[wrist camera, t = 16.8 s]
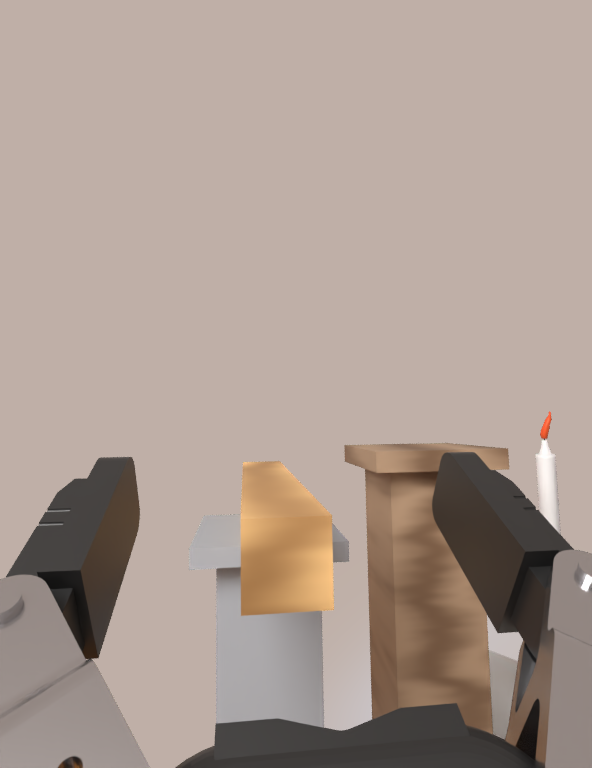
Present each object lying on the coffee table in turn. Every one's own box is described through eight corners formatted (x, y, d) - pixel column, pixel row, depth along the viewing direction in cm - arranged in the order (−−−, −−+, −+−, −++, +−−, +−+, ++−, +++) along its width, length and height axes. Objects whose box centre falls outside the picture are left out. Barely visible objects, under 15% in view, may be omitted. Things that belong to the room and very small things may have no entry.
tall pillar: (465, 798, 40) (449, 442, 43) (547, 936, 29) (518, 448, 32) (346, 812, 39) (338, 445, 42) (386, 962, 28) (371, 452, 31)
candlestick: (644, 758, 45) (616, 410, 48) (613, 823, 37) (583, 409, 41) (530, 707, 53) (513, 413, 56) (487, 753, 46) (470, 412, 49)
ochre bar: (280, 498, 36) (279, 461, 36) (333, 610, 14) (331, 515, 15) (243, 499, 36) (243, 462, 36) (240, 615, 14) (240, 518, 14)
